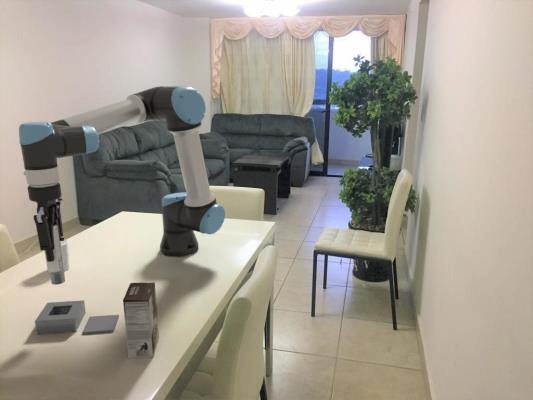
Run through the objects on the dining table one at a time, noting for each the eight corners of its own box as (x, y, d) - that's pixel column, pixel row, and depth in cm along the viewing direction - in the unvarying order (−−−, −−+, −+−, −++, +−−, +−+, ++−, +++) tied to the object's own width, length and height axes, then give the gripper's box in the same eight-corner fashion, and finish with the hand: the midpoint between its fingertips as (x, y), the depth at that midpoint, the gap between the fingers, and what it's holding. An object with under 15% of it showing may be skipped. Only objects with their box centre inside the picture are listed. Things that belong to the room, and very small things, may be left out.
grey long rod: (53, 279, 120) (45, 221, 115) (66, 278, 120) (58, 221, 115) (49, 285, 116) (40, 225, 112) (63, 284, 117) (54, 225, 112)
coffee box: (134, 338, 114) (130, 282, 110) (159, 336, 115) (155, 281, 111) (127, 359, 106) (121, 299, 101) (154, 358, 106) (149, 298, 102)
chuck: (85, 312, 127) (84, 300, 126) (76, 331, 117) (74, 318, 116) (49, 315, 125) (47, 302, 124) (36, 334, 116) (34, 321, 115)
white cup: (61, 274, 151) (58, 248, 149) (41, 272, 153) (37, 246, 150) (75, 265, 159) (72, 240, 156) (56, 263, 160) (53, 238, 158)
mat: (118, 316, 125) (118, 314, 125) (113, 331, 117) (113, 329, 117) (89, 318, 124) (89, 316, 123) (82, 334, 116) (82, 332, 116)
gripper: (39, 177, 118) (51, 256, 124) (14, 192, 102) (30, 282, 109) (68, 176, 119) (78, 255, 125) (48, 191, 103) (61, 280, 110)
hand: (56, 267), depth 117 cm, fingers closed on grey long rod, 3 cm apart
